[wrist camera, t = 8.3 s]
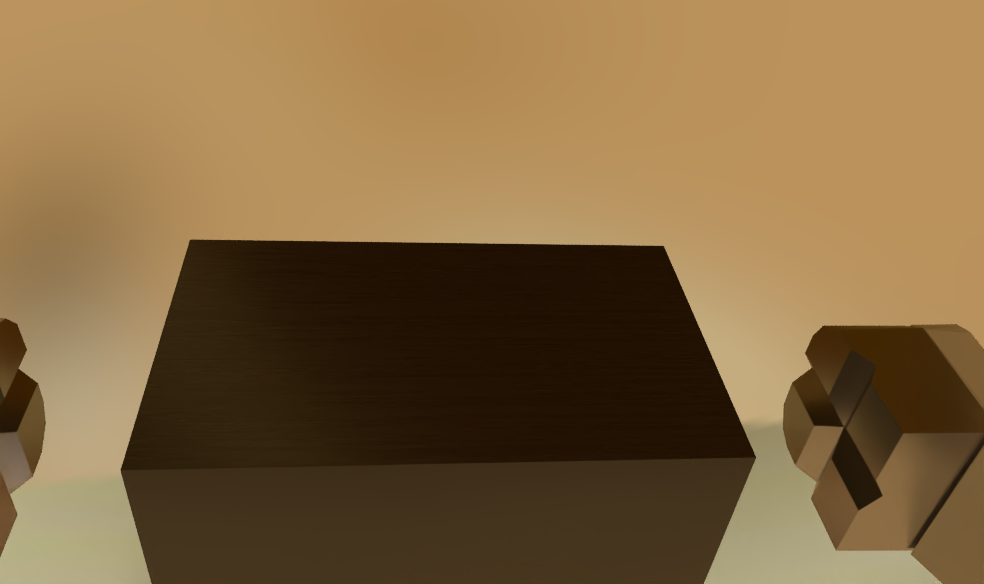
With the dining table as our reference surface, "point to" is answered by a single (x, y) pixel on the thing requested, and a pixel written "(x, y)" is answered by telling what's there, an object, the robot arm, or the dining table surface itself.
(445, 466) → the grey block-headed metal pin
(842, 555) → the dining table surface
